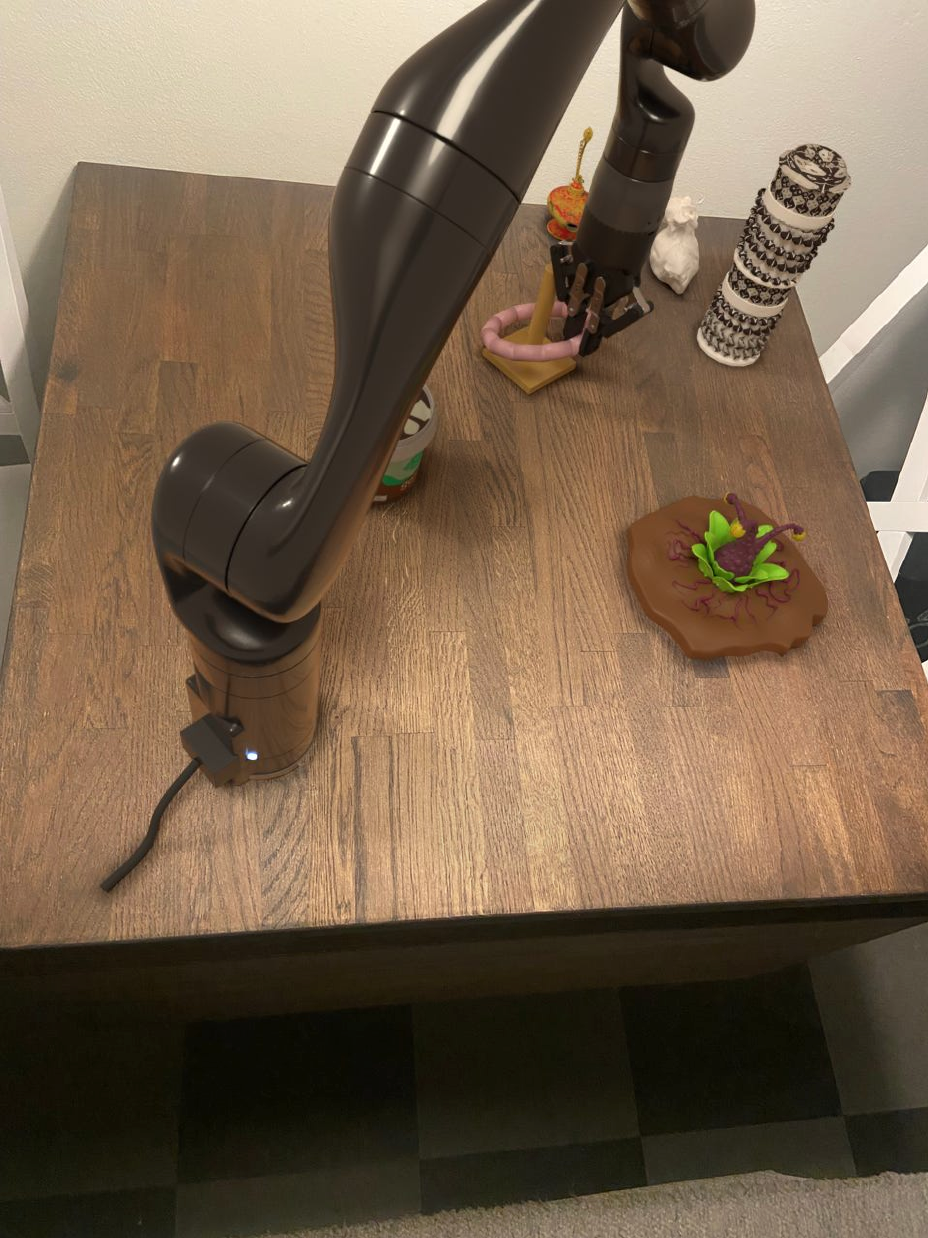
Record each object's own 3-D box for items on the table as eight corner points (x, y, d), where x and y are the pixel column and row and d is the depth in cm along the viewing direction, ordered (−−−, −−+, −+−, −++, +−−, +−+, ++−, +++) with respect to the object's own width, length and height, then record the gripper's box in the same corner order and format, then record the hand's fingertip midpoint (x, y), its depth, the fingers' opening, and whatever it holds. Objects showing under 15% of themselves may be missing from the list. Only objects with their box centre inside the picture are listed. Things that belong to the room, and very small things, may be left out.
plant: (590, 531, 96) (623, 458, 87) (740, 493, 103) (785, 421, 94) (685, 690, 87) (733, 628, 78) (842, 637, 94) (903, 574, 85)
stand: (528, 394, 106) (555, 302, 95) (482, 354, 109) (503, 259, 98) (574, 368, 110) (605, 276, 99) (528, 330, 112) (554, 236, 102)
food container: (411, 529, 93) (423, 462, 84) (352, 514, 92) (359, 445, 84) (437, 444, 99) (451, 374, 91) (382, 430, 99) (391, 358, 91)
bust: (663, 260, 129) (636, 189, 121) (717, 242, 125) (692, 167, 117) (658, 313, 122) (628, 241, 114) (714, 296, 118) (688, 220, 111)
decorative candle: (733, 378, 114) (832, 192, 93) (679, 334, 117) (763, 145, 96) (776, 352, 118) (880, 169, 97) (723, 311, 121) (813, 124, 100)
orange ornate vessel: (533, 271, 119) (553, 192, 110) (545, 194, 129) (565, 116, 120) (584, 282, 119) (608, 205, 110) (592, 205, 129) (615, 128, 120)
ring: (544, 375, 98) (543, 360, 97) (458, 344, 107) (457, 329, 105) (625, 330, 105) (625, 315, 104) (538, 304, 113) (538, 290, 112)
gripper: (548, 178, 88) (512, 324, 102) (653, 256, 84) (600, 397, 98) (599, 157, 92) (557, 301, 106) (702, 231, 87) (644, 371, 102)
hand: (578, 347), depth 102 cm, fingers closed on ring, 1 cm apart
